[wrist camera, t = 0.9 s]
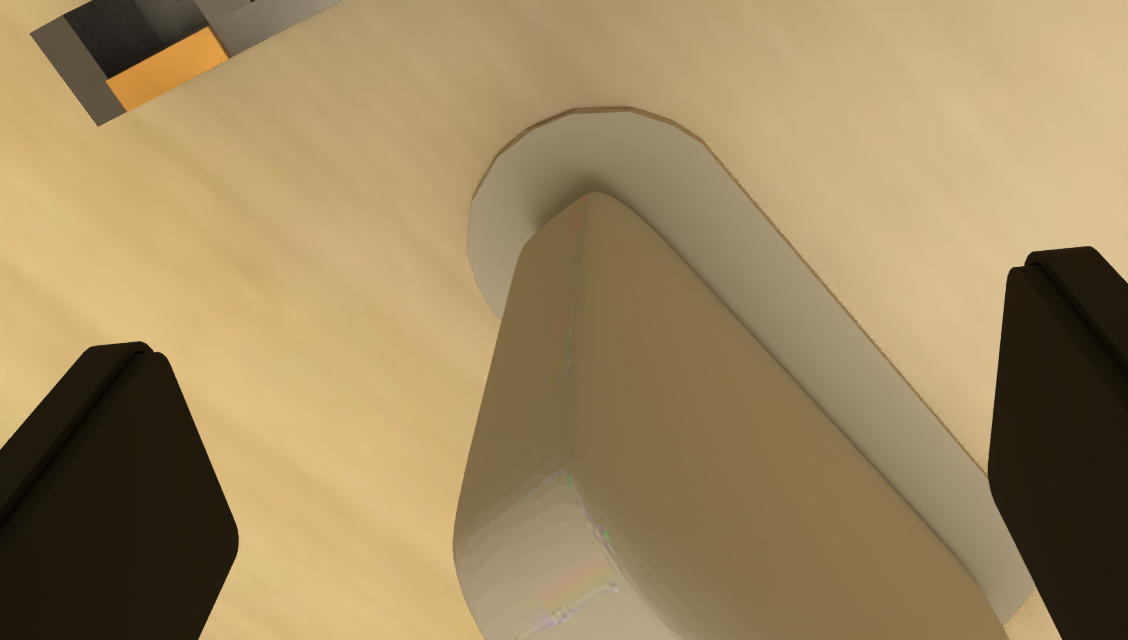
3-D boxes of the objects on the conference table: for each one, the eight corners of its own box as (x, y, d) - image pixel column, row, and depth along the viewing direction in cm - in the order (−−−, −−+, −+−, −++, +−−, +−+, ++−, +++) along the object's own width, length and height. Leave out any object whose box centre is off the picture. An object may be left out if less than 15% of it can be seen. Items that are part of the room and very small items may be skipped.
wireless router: (412, 226, 36) (234, 669, 18) (621, 45, 32) (644, 382, 15) (883, 677, 47) (1048, 1218, 29) (1077, 578, 43) (1394, 1129, 26)
